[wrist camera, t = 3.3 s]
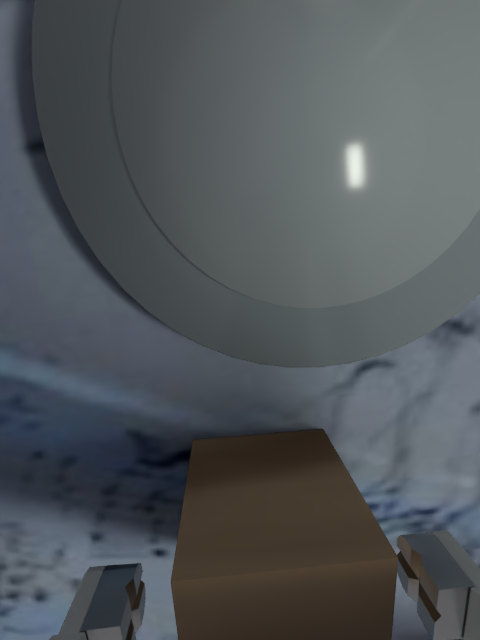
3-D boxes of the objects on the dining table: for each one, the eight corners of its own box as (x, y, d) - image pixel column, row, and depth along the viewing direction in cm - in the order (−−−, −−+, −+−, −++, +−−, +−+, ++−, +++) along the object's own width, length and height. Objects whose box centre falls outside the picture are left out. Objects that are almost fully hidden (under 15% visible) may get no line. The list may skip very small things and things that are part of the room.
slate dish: (-3, -224, 7) (-45, -315, 6) (595, -210, 8) (659, -289, 6) (98, 371, 10) (83, 386, 9) (508, 342, 11) (541, 352, 10)
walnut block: (193, 438, 11) (170, 581, 6) (322, 427, 11) (398, 557, 6) (203, 544, 12) (191, 736, 7) (321, 532, 12) (385, 711, 8)
